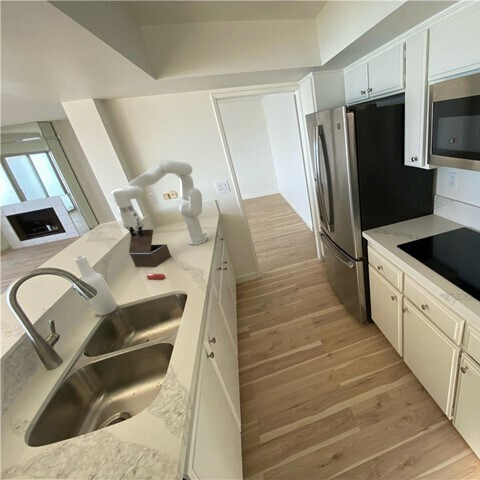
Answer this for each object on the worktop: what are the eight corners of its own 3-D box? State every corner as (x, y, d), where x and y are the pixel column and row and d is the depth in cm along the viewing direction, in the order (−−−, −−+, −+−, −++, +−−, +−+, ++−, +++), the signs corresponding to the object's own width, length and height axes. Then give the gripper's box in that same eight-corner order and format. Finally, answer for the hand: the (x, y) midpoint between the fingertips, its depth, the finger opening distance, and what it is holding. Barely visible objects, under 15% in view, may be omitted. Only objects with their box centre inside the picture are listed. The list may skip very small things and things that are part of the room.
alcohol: (104, 306, 136) (77, 254, 124) (121, 303, 137) (96, 252, 125) (92, 317, 128) (61, 263, 116) (110, 314, 128) (82, 260, 117)
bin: (152, 256, 191) (147, 244, 187) (171, 256, 187) (166, 244, 183) (135, 266, 178) (129, 253, 174) (155, 266, 174) (150, 253, 170)
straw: (146, 279, 159) (144, 275, 157) (150, 277, 161) (148, 272, 160) (163, 280, 156) (161, 275, 155) (166, 277, 158) (165, 273, 157)
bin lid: (133, 230, 177) (126, 228, 172) (153, 229, 173) (146, 228, 168) (130, 253, 174) (122, 252, 170) (150, 253, 170) (143, 252, 166)
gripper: (142, 206, 165) (153, 233, 172) (121, 207, 169) (132, 233, 176) (132, 210, 158) (143, 238, 166) (110, 211, 163) (122, 238, 170)
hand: (137, 235), depth 171 cm, fingers closed on bin lid, 5 cm apart
